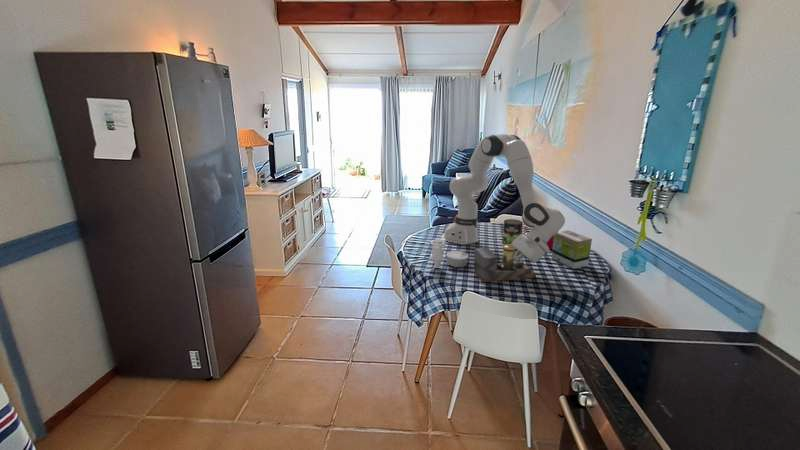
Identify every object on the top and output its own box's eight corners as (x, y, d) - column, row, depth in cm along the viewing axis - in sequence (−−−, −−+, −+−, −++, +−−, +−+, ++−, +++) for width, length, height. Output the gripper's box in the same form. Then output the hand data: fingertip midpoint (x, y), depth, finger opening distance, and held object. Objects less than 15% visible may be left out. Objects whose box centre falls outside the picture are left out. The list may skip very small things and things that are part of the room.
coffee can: (519, 249, 208) (522, 225, 204) (500, 246, 212) (502, 223, 208) (521, 243, 217) (523, 220, 213) (503, 241, 221) (505, 218, 217)
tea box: (550, 258, 195) (553, 232, 190) (564, 255, 199) (568, 229, 194) (573, 269, 182) (577, 241, 177) (588, 266, 185) (592, 238, 181)
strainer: (445, 270, 182) (446, 241, 177) (431, 271, 181) (432, 242, 177) (443, 264, 188) (443, 236, 184) (429, 265, 188) (429, 237, 183)
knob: (503, 273, 172) (505, 248, 169) (498, 268, 178) (500, 244, 174) (516, 272, 173) (518, 248, 170) (510, 267, 179) (512, 243, 175)
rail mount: (482, 282, 169) (484, 258, 165) (473, 271, 180) (475, 248, 176) (536, 278, 172) (539, 254, 169) (524, 268, 184) (526, 245, 180)
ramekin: (471, 268, 185) (471, 258, 183) (449, 269, 183) (449, 259, 181) (463, 259, 195) (464, 250, 194) (443, 260, 193) (443, 251, 192)
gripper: (521, 228, 182) (501, 248, 184) (543, 242, 163) (520, 264, 164) (529, 236, 184) (508, 256, 186) (551, 251, 165) (528, 273, 166)
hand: (514, 260), depth 175 cm, fingers closed, pressing on knob
